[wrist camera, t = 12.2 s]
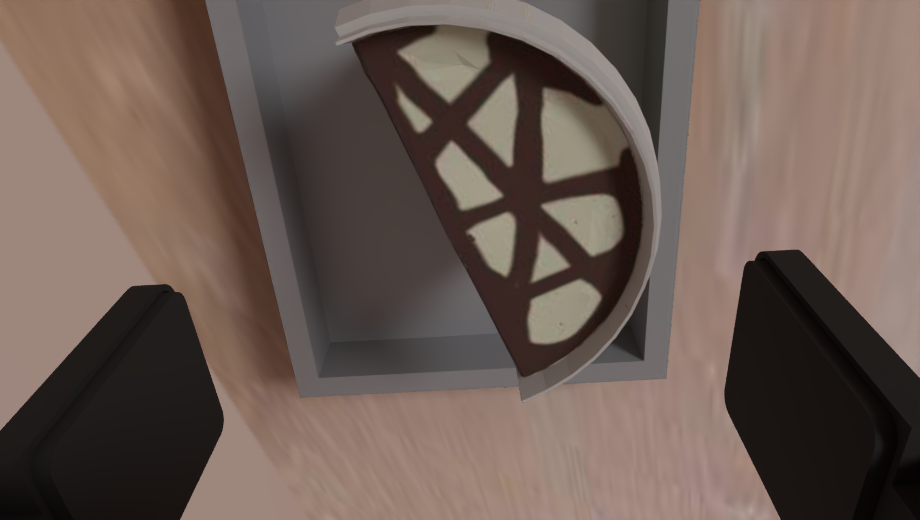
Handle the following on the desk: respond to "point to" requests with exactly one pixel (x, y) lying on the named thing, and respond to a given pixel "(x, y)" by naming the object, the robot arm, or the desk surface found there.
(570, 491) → the desk surface
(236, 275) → the desk surface
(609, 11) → the parts tray
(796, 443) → the robot arm
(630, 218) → the food container
